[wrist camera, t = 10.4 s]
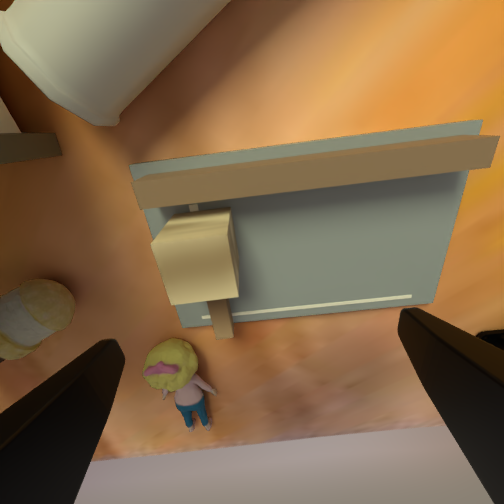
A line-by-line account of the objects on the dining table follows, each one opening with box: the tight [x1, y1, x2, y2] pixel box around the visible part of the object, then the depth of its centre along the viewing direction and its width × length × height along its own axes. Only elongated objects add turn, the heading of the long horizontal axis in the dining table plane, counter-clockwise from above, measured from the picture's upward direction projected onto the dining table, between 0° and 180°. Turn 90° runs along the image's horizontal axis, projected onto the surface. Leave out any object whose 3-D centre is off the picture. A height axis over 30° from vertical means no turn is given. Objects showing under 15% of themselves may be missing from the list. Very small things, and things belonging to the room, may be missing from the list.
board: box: [129, 120, 500, 328], centre depth 18 cm, size 14×22×3 cm, turn 97°
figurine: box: [142, 338, 217, 432], centre depth 25 cm, size 6×4×15 cm
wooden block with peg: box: [150, 207, 239, 340], centre depth 17 cm, size 10×4×5 cm, turn 7°
